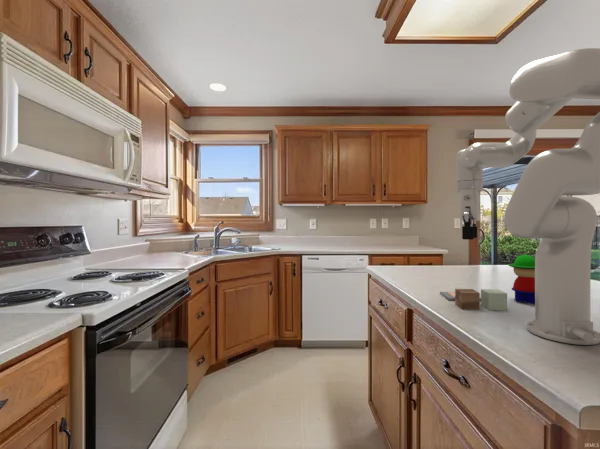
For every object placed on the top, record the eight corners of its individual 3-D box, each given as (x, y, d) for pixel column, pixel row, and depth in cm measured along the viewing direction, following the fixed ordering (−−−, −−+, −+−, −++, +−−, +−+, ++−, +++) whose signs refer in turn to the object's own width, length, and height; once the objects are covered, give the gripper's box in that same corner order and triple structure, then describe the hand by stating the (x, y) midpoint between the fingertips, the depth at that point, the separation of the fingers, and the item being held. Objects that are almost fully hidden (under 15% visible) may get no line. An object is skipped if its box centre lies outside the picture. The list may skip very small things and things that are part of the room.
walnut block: (479, 309, 88) (479, 292, 88) (461, 309, 89) (461, 292, 89) (472, 305, 93) (472, 289, 93) (455, 304, 94) (455, 288, 93)
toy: (504, 300, 97) (504, 254, 96) (513, 296, 102) (512, 252, 102) (539, 306, 90) (539, 257, 89) (546, 301, 95) (546, 254, 95)
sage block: (507, 310, 87) (507, 293, 87) (488, 310, 88) (488, 293, 88) (498, 305, 92) (498, 289, 92) (480, 305, 93) (480, 289, 92)
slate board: (481, 301, 96) (481, 298, 96) (449, 300, 98) (449, 297, 98) (469, 294, 105) (469, 291, 105) (440, 294, 106) (439, 291, 106)
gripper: (480, 183, 90) (480, 240, 90) (484, 188, 104) (485, 237, 104) (452, 185, 94) (453, 239, 94) (460, 190, 108) (461, 237, 108)
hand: (469, 238), depth 99 cm, fingers open, 9 cm apart
